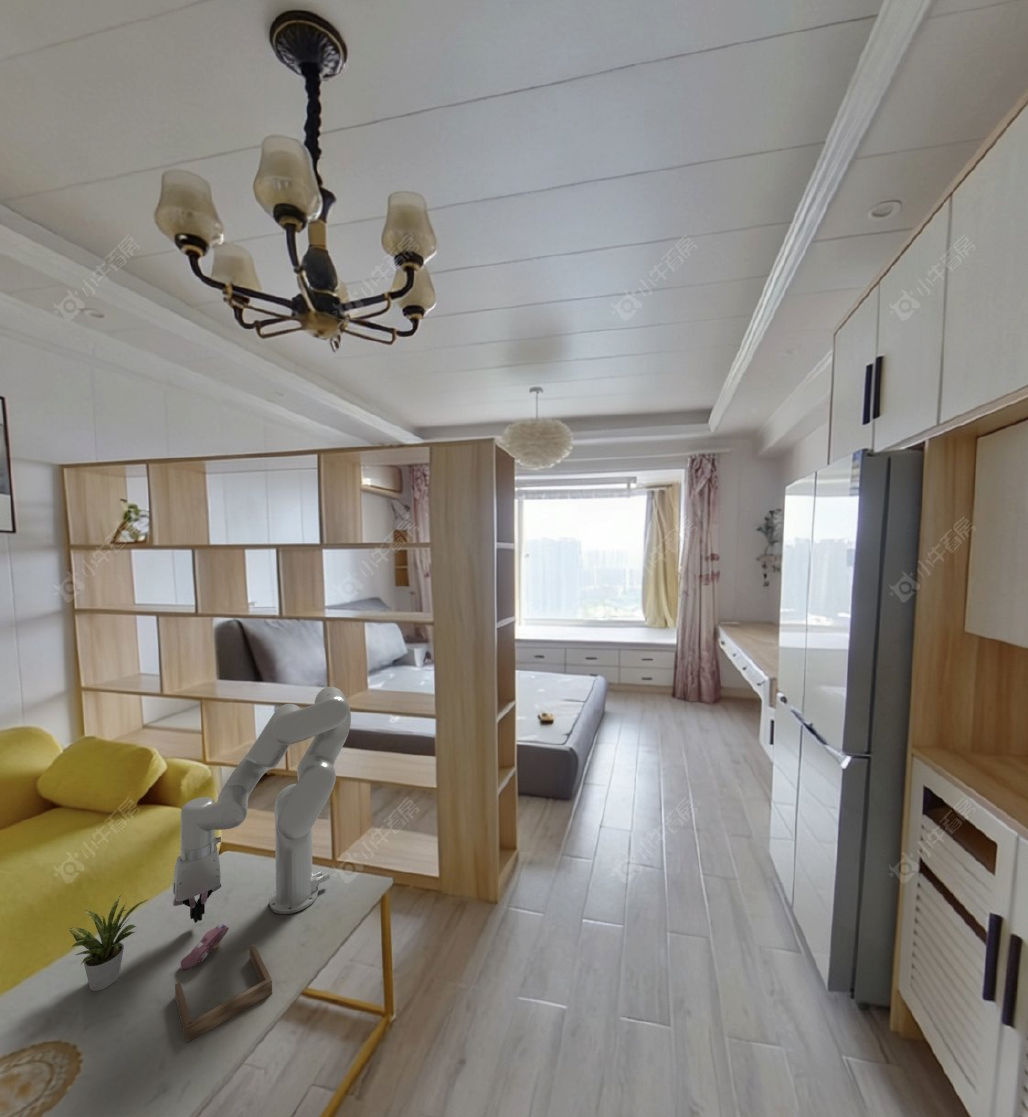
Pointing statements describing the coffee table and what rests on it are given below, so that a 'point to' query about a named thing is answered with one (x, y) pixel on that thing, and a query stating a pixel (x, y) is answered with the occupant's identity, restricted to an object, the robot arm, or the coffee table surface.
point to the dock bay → (227, 1008)
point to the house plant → (103, 947)
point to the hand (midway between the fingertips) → (197, 918)
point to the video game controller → (205, 946)
